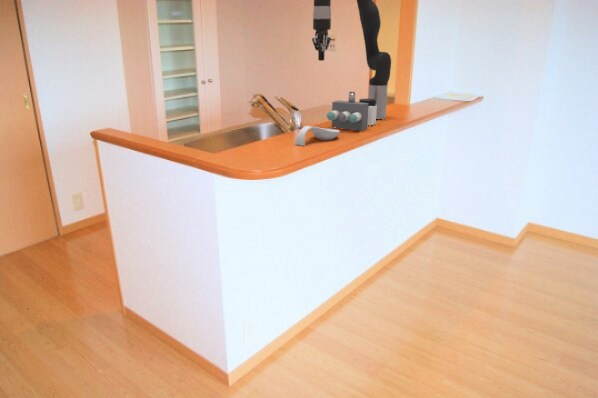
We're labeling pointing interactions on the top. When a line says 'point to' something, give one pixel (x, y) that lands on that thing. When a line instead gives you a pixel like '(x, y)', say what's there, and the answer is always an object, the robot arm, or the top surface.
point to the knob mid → (343, 116)
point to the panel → (351, 108)
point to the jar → (371, 110)
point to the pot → (351, 97)
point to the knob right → (355, 117)
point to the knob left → (333, 115)
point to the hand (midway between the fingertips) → (321, 60)
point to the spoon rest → (316, 134)
